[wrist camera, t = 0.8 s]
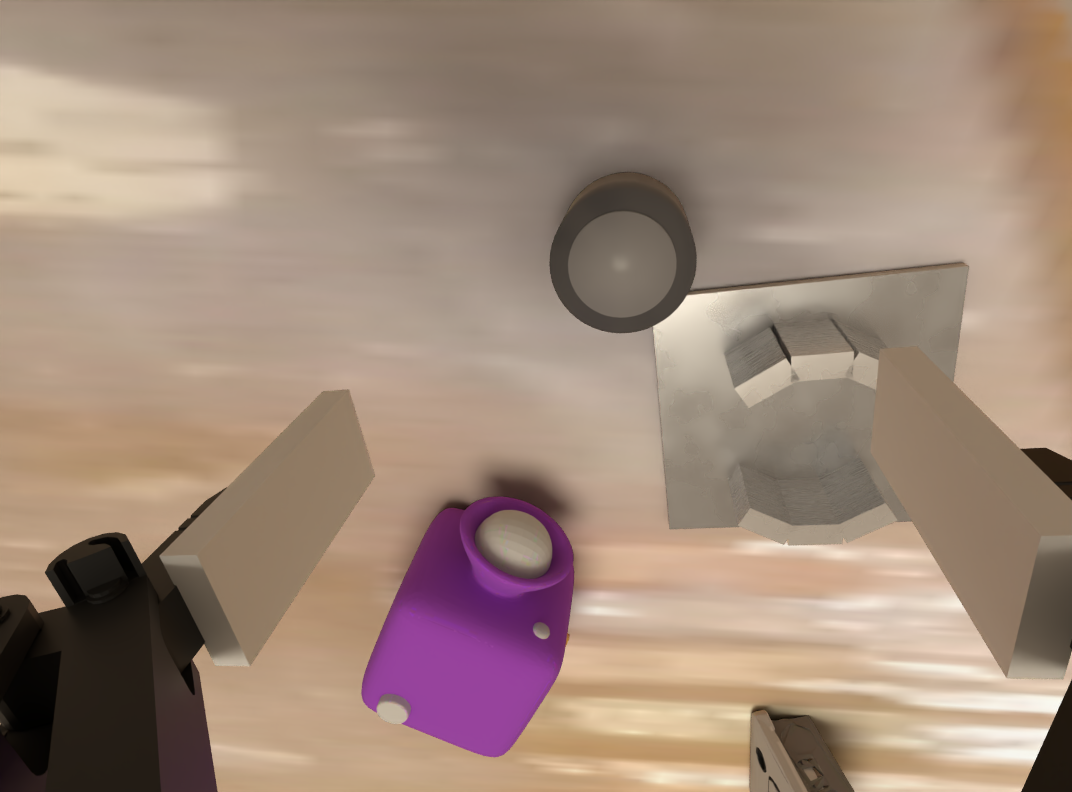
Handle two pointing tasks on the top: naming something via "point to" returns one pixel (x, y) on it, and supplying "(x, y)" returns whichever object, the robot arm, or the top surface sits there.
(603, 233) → the dark grey cylinder
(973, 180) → the top surface
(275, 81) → the top surface
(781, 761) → the electrical switch
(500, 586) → the toy camera
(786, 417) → the grey square plate
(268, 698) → the top surface
